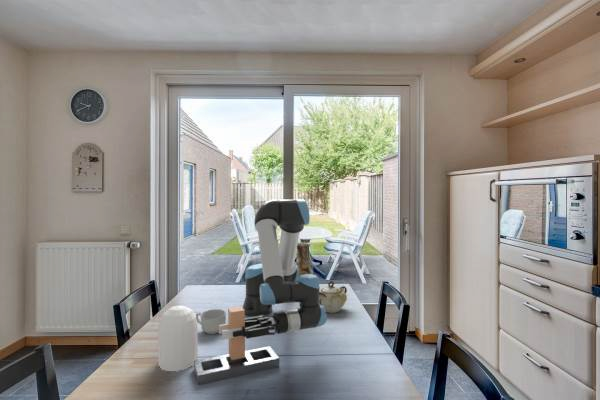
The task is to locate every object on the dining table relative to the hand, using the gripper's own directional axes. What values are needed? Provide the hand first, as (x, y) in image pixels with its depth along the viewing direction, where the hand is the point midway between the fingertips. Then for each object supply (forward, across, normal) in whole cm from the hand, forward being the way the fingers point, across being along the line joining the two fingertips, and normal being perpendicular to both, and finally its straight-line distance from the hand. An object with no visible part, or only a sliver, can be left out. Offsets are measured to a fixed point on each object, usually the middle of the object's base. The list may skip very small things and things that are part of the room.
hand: (220, 332), depth 116 cm
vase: (-62, +72, -13) cm, 96 cm away
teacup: (-2, +37, -14) cm, 40 cm away
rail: (-5, 0, -14) cm, 15 cm away
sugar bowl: (-63, +38, -14) cm, 75 cm away
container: (+13, +13, -14) cm, 23 cm away
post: (-5, 0, -9) cm, 10 cm away
